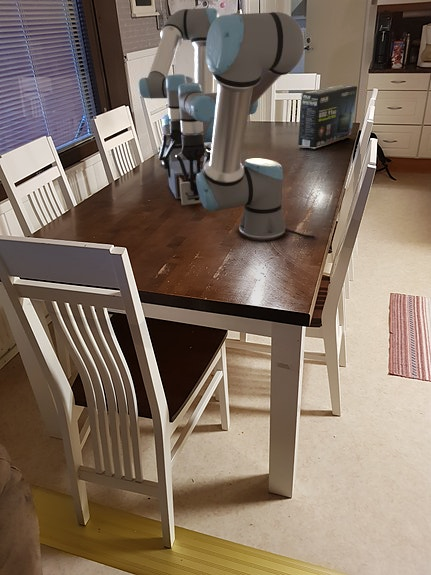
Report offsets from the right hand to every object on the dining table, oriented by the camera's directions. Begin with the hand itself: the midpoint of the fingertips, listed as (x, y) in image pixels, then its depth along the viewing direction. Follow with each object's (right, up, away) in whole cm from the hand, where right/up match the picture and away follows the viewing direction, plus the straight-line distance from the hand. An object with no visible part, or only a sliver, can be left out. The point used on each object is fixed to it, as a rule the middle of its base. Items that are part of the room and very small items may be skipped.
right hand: (196, 199), depth 168 cm
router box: (+66, +45, +77) cm, 111 cm away
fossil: (+8, +43, +78) cm, 89 cm away
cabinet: (-5, +7, +19) cm, 21 cm away
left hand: (-6, +14, +20) cm, 25 cm away
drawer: (-2, +1, +8) cm, 8 cm away
